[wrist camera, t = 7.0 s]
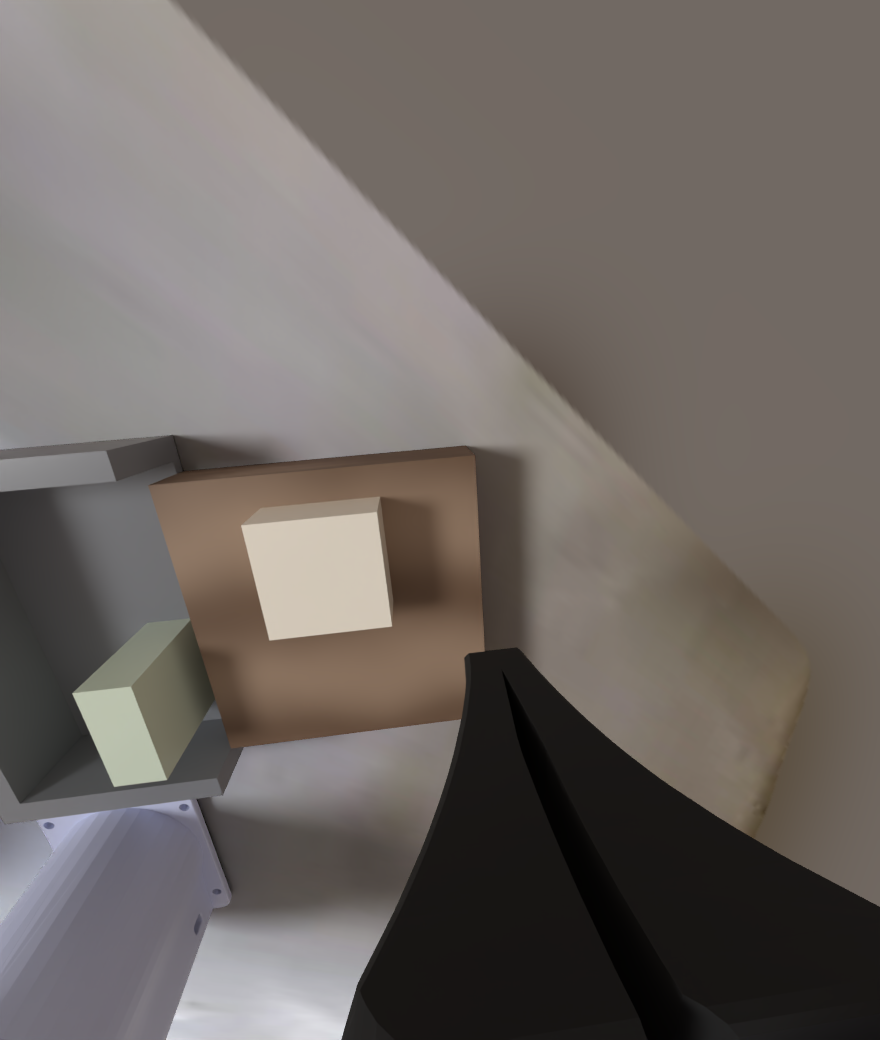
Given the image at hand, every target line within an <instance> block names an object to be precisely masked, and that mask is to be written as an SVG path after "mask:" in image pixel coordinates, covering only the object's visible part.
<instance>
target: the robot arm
mask: <svg viewBox="0 0 880 1040" xmlns="http://www.w3.org/2000/svg"><path fill="white" fill-rule="evenodd" d="M464 663H465V677H466V689H465V698H464V705H463V712H462V718H461V724H460V728H459V733H458V737H457V742H456V746H455V751H454V755H453V758H452V762H451V766H450V769H449V773H448V776H447V779H446V783H445V786H444V789H443V792H442V795H441V798H440V801H439V804H438V807H437V810H436V812H435V815H434V818H433V821H432V824H431V826H430V829H429V832H428V834H427V837H426V839H425V842H424V845H423V847H422V849H421V852H420V854H419V856H418V859H417V861H416V863H415V866H414V868H413V870H412V873H411V875H410V877H409V879H408V882H407V884H406V886H405V889H404V891H403V893H402V895H401V898H400V900H399V902H398V904H397V906H396V908H395V911H394V913H393V915H392V917H391V919H390V921H389V923H388V925H387V927H386V929H385V931H384V933H383V935H382V937H381V939H380V941H379V943H378V945H377V947H376V949H375V951H374V953H373V954H372V956H371V958H370V960H369V962H368V964H367V966H366V968H365V970H364V972H363V974H362V976H361V978H360V980H359V982H358V985H357V988H356V992H355V995H354V998H353V1002H352V1005H351V1008H350V1012H349V1015H348V1019H347V1022H346V1026H345V1029H344V1032H343V1036H342V1040H880V907H879V906H877V905H875V904H873V903H871V902H869V901H868V900H866V899H864V898H862V897H860V896H858V895H856V894H854V893H852V892H850V891H849V890H847V889H845V888H843V887H841V886H839V885H837V884H835V883H833V882H831V881H829V880H828V879H826V878H824V877H822V876H820V875H818V874H816V873H814V872H812V871H810V870H809V869H806V868H805V867H803V866H801V865H799V864H797V863H795V862H793V861H791V860H790V859H788V858H786V857H784V856H782V855H780V854H779V853H777V852H775V851H774V850H772V849H770V848H769V847H767V846H765V845H763V844H762V843H760V842H758V841H757V840H755V839H753V838H752V837H750V836H748V835H746V834H745V833H743V832H741V831H740V830H738V829H736V828H735V827H733V826H731V825H730V824H728V823H727V822H725V821H723V820H722V819H720V818H718V817H717V816H715V815H714V814H712V813H711V812H709V811H708V810H706V809H705V808H703V807H702V806H700V805H699V804H697V803H696V802H694V801H693V800H691V799H689V798H688V797H686V796H685V795H683V794H682V793H680V792H679V791H677V790H676V789H674V788H673V787H671V786H670V785H668V784H667V783H666V782H664V781H663V780H661V779H660V778H659V777H657V776H656V775H654V774H653V773H652V772H650V771H649V770H648V769H646V768H645V767H644V766H642V765H641V764H640V763H639V762H637V761H636V760H635V759H633V758H632V757H631V756H629V755H628V754H627V753H626V752H624V751H623V750H622V749H621V748H620V747H618V746H617V745H616V744H615V743H613V742H612V741H611V740H610V739H609V738H608V737H606V736H605V735H604V734H603V733H602V732H601V731H600V730H598V729H597V728H596V727H595V726H594V725H593V724H592V723H590V722H589V721H588V720H587V719H586V718H585V717H584V716H583V715H582V714H581V713H580V712H579V711H577V710H576V709H575V708H574V707H573V706H572V705H571V704H570V703H569V702H568V701H567V700H566V699H565V698H564V697H563V696H562V695H561V694H560V693H559V692H558V691H557V690H556V689H555V688H554V687H553V686H552V685H551V684H550V683H549V682H548V681H547V679H546V678H545V677H544V676H543V675H542V674H541V673H540V672H539V671H538V670H537V669H536V668H535V666H534V665H533V664H532V663H531V662H530V661H529V660H528V659H527V657H526V656H525V655H524V654H523V653H522V652H521V651H520V650H519V649H518V648H509V649H501V650H492V651H484V652H476V653H468V654H467V655H466V656H465V657H464ZM37 822H38V824H39V826H40V828H41V829H42V831H43V833H44V835H45V837H46V838H47V840H48V842H49V844H50V846H51V847H52V849H53V851H54V853H53V854H52V855H51V857H50V858H49V859H48V861H47V862H46V863H45V865H44V866H43V867H42V869H41V870H40V871H39V873H38V874H37V875H36V877H35V878H34V879H33V881H32V882H31V883H30V885H29V886H28V888H27V889H26V890H25V892H24V893H23V894H22V896H21V897H20V898H19V900H18V901H17V902H16V904H15V905H14V906H13V908H12V909H11V910H10V912H9V913H8V914H7V916H6V917H5V918H4V920H3V921H2V923H1V924H0V1040H166V1037H167V1035H168V1032H169V1029H170V1026H171V1024H172V1021H173V1018H174V1015H175V1012H176V1010H177V1007H178V1004H179V1001H180V999H181V996H182V993H183V990H184V988H185V985H186V982H187V979H188V976H189V974H190V971H191V968H192V965H193V963H194V960H195V957H196V954H197V952H198V949H199V946H200V943H201V940H202V938H203V935H204V932H205V929H206V927H207V924H208V921H209V918H210V916H211V913H212V910H213V909H215V908H221V907H226V906H227V905H229V903H230V900H231V897H232V894H231V891H230V889H229V886H228V883H227V881H226V878H225V875H224V872H223V870H222V867H221V864H220V862H219V859H218V856H217V853H216V851H215V848H214V845H213V843H212V840H211V837H210V834H209V832H208V829H207V826H206V824H205V821H204V818H203V816H202V813H201V810H200V807H199V805H198V802H197V799H191V800H183V801H176V802H168V803H161V804H153V805H146V806H138V807H131V808H123V809H116V810H108V811H101V812H93V813H86V814H78V815H71V816H63V817H56V818H48V819H41V820H37Z"/></svg>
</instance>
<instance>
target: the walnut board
mask: <svg viewBox="0 0 880 1040" xmlns="http://www.w3.org/2000/svg"><path fill="white" fill-rule="evenodd" d="M148 487H149V490H150V493H151V496H152V499H153V503H154V506H155V509H156V512H157V515H158V518H159V522H160V525H161V528H162V531H163V534H164V538H165V541H166V544H167V547H168V550H169V553H170V557H171V560H172V563H173V566H174V569H175V572H176V576H177V579H178V582H179V585H180V588H181V592H182V595H183V598H184V601H185V604H186V607H187V611H188V614H189V617H190V620H191V623H192V627H193V630H194V633H195V636H196V639H197V642H198V646H199V649H200V652H201V655H202V658H203V661H204V665H205V668H206V671H207V674H208V677H209V681H210V684H211V687H212V690H213V693H214V696H215V700H216V703H217V706H218V709H219V712H220V716H221V719H222V722H223V725H224V728H225V731H226V735H227V738H228V741H229V744H230V747H231V748H239V747H247V746H255V745H263V744H270V743H278V742H286V741H294V740H302V739H310V738H317V737H325V736H333V735H341V734H349V733H357V732H364V731H372V730H380V729H388V728H396V727H404V726H411V725H419V724H427V723H435V722H443V721H451V720H458V719H461V718H462V712H463V705H464V698H465V689H466V677H465V663H464V657H465V656H466V655H467V654H468V653H476V652H484V651H485V648H484V628H483V607H482V587H481V567H480V546H479V526H478V506H477V485H476V465H475V455H474V454H473V453H472V452H471V451H470V450H469V449H468V448H467V447H466V446H457V447H446V448H435V449H424V450H413V451H401V452H390V453H379V454H368V455H357V456H346V457H335V458H324V459H313V460H302V461H291V462H280V463H269V464H258V465H247V466H235V467H224V468H213V469H202V470H191V471H182V472H180V473H177V474H175V475H172V476H170V477H167V478H165V479H163V480H160V481H158V482H155V483H153V484H150V485H148ZM370 497H380V500H381V508H382V516H383V524H384V531H385V539H386V547H387V555H388V563H389V570H390V578H391V586H392V594H393V617H392V627H384V628H375V629H366V630H358V631H349V632H340V633H331V634H323V635H314V636H305V637H296V638H288V639H279V640H269V636H268V632H267V628H266V624H265V620H264V616H263V612H262V608H261V604H260V600H259V596H258V592H257V588H256V584H255V580H254V576H253V572H252V568H251V564H250V560H249V556H248V552H247V547H246V543H245V539H244V535H243V531H242V527H241V525H242V524H243V523H244V522H246V521H247V520H248V519H249V518H250V517H251V516H252V515H253V514H255V513H256V512H257V511H258V510H259V509H260V508H266V507H277V506H287V505H298V504H308V503H318V502H329V501H339V500H350V499H360V498H370Z"/></svg>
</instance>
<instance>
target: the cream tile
mask: <svg viewBox="0 0 880 1040" xmlns="http://www.w3.org/2000/svg"><path fill="white" fill-rule="evenodd" d="M241 527H242V531H243V535H244V539H245V543H246V547H247V552H248V556H249V560H250V564H251V568H252V572H253V576H254V580H255V584H256V588H257V592H258V596H259V600H260V604H261V608H262V612H263V616H264V620H265V624H266V628H267V632H268V636H269V640H279V639H288V638H296V637H305V636H314V635H323V634H331V633H340V632H349V631H358V630H366V629H375V628H384V627H392V617H393V594H392V586H391V578H390V570H389V563H388V555H387V547H386V539H385V531H384V524H383V516H382V508H381V500H380V497H370V498H360V499H350V500H339V501H329V502H318V503H308V504H298V505H287V506H277V507H266V508H260V509H259V510H258V511H257V512H256V513H255V514H253V515H252V516H251V517H250V518H249V519H248V520H247V521H246V522H244V523H243V524H242V525H241Z"/></svg>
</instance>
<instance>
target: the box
mask: <svg viewBox="0 0 880 1040" xmlns="http://www.w3.org/2000/svg"><path fill="white" fill-rule="evenodd" d="M182 471H183V470H182V466H181V463H180V459H179V456H178V452H177V449H176V445H175V442H174V438H173V435H169V436H158V437H146V438H134V439H123V440H111V441H99V442H87V443H76V444H64V445H52V446H41V447H29V448H17V449H6V450H0V817H1V819H2V821H3V822H4V824H11V823H19V822H26V821H33V820H41V819H48V818H56V817H63V816H71V815H78V814H86V813H93V812H101V811H108V810H116V809H123V808H131V807H138V806H146V805H153V804H161V803H168V802H176V801H183V800H191V799H198V798H205V797H213V796H220V795H223V794H224V791H225V789H226V787H227V784H228V782H229V780H230V777H231V775H232V773H233V771H234V768H235V766H236V764H237V761H238V759H239V757H240V755H241V752H242V750H243V748H244V747H239V748H231V747H230V744H229V741H228V738H227V735H226V731H225V728H224V725H223V722H222V719H221V716H220V712H219V709H218V706H217V703H216V700H214V702H213V704H212V705H211V707H210V709H209V710H208V712H207V714H206V715H205V717H204V719H203V720H202V722H201V724H200V725H199V727H198V729H197V730H196V732H195V734H194V736H193V737H192V739H191V741H190V742H189V744H188V746H187V747H186V749H185V751H184V752H183V754H182V756H181V757H180V759H179V761H178V763H177V764H176V766H175V768H174V769H173V771H172V773H171V774H170V776H169V778H168V779H167V780H164V781H156V782H148V783H140V784H132V785H125V786H117V787H114V786H113V783H112V781H111V779H110V777H109V774H108V772H107V770H106V768H105V765H104V763H103V761H102V759H101V757H100V754H99V752H98V750H97V748H96V745H95V743H94V741H93V739H92V736H91V734H90V732H89V730H88V727H87V725H86V723H85V721H84V719H83V716H82V714H81V712H80V710H79V707H78V705H77V703H76V701H75V698H74V696H73V694H72V693H73V692H74V691H75V690H76V689H77V688H78V687H80V686H81V685H82V684H83V683H84V682H85V681H86V680H87V679H88V678H89V677H90V676H91V675H92V674H93V673H94V672H95V671H97V670H98V669H99V668H100V667H101V666H102V665H103V664H104V663H105V662H106V661H107V660H108V659H109V658H110V657H111V656H112V655H114V654H115V653H116V652H117V651H118V650H119V649H120V648H121V647H122V646H123V645H124V644H125V643H126V642H127V641H128V640H129V639H131V638H132V637H133V636H134V635H135V634H136V633H137V632H138V631H139V630H140V629H141V628H142V627H143V626H144V625H145V624H146V623H151V622H161V621H170V620H180V619H189V618H190V617H189V614H188V611H187V607H186V604H185V601H184V598H183V595H182V592H181V588H180V585H179V582H178V579H177V576H176V572H175V569H174V566H173V563H172V560H171V557H170V553H169V550H168V547H167V544H166V541H165V538H164V534H163V531H162V528H161V525H160V522H159V518H158V515H157V512H156V509H155V506H154V503H153V499H152V496H151V493H150V490H149V487H148V485H150V484H153V483H155V482H158V481H160V480H163V479H165V478H167V477H170V476H172V475H175V474H177V473H180V472H182Z"/></svg>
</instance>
